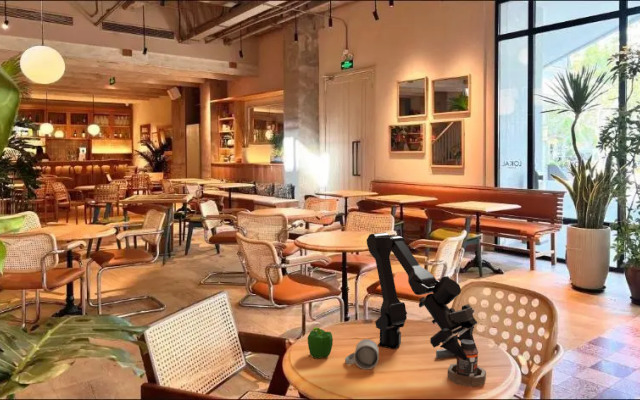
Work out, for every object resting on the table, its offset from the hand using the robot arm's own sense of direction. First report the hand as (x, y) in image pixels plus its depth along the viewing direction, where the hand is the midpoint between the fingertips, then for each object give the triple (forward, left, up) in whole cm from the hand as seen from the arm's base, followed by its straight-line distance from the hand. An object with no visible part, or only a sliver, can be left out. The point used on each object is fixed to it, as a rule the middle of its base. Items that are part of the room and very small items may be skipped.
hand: (471, 356), depth 151 cm
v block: (-7, +15, -7) cm, 18 cm away
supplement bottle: (-1, 0, -7) cm, 7 cm away
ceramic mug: (-33, -3, -7) cm, 34 cm away
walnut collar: (-1, 0, -7) cm, 7 cm away
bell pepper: (-48, -3, -7) cm, 49 cm away
